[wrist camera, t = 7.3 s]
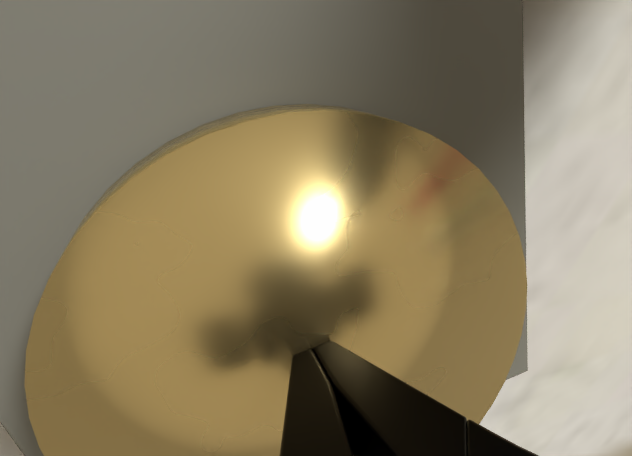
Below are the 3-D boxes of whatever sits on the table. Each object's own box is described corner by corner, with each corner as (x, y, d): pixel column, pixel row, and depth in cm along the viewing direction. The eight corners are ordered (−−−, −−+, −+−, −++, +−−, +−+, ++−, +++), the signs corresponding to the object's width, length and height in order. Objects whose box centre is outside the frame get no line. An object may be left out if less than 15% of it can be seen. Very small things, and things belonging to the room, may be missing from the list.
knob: (398, 50, 12) (523, 46, 8) (434, 340, 16) (529, 441, 12) (1, 152, 10) (-120, 221, 6) (159, 452, 14) (154, 619, 10)
